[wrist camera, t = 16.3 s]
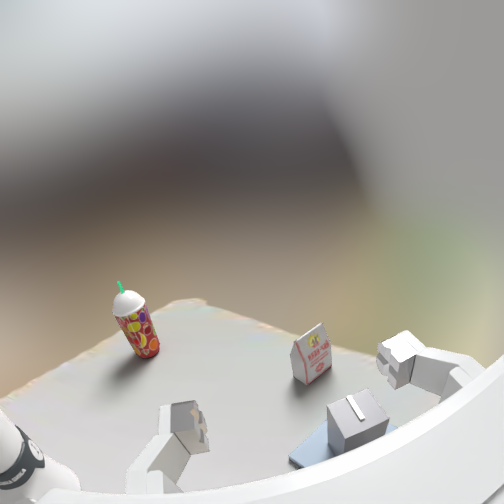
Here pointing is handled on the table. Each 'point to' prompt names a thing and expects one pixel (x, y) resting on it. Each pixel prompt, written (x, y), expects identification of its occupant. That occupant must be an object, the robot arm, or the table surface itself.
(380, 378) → the table surface
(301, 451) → the panel
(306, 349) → the white paper bag
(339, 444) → the tall gray block
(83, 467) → the table surface
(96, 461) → the table surface
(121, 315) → the smoothie
